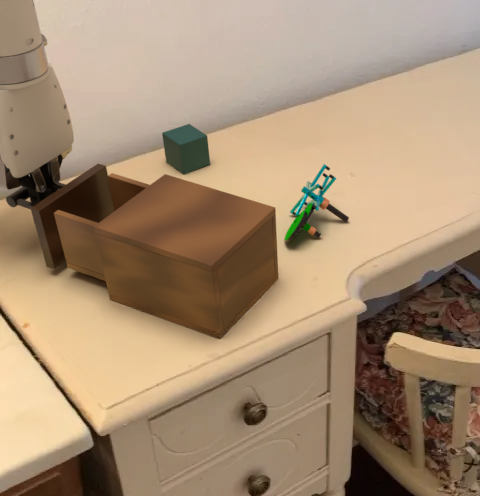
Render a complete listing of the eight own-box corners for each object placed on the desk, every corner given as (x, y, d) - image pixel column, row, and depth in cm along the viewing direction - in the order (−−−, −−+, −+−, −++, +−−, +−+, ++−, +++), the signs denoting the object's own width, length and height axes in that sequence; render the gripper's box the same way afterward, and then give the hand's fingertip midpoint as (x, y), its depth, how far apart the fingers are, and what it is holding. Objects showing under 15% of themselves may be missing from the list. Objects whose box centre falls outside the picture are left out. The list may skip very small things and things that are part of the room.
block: (183, 174, 114) (179, 144, 111) (166, 162, 117) (161, 132, 114) (210, 164, 117) (207, 135, 114) (192, 152, 119) (189, 123, 116)
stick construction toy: (299, 180, 110) (327, 150, 104) (342, 210, 113) (372, 183, 106) (266, 247, 105) (293, 220, 98) (312, 278, 107) (341, 253, 101)
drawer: (1, 250, 98) (-18, 192, 93) (66, 206, 106) (52, 149, 100) (143, 301, 93) (132, 242, 87) (201, 250, 100) (194, 192, 95)
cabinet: (109, 299, 94) (93, 226, 87) (175, 244, 102) (164, 173, 96) (220, 339, 90) (211, 265, 83) (278, 278, 98) (275, 207, 92)
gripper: (30, 30, 92) (66, 179, 105) (-76, 79, 82) (-22, 236, 95) (85, 44, 90) (115, 194, 103) (-17, 96, 80) (30, 255, 93)
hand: (49, 214), depth 99 cm, fingers closed
